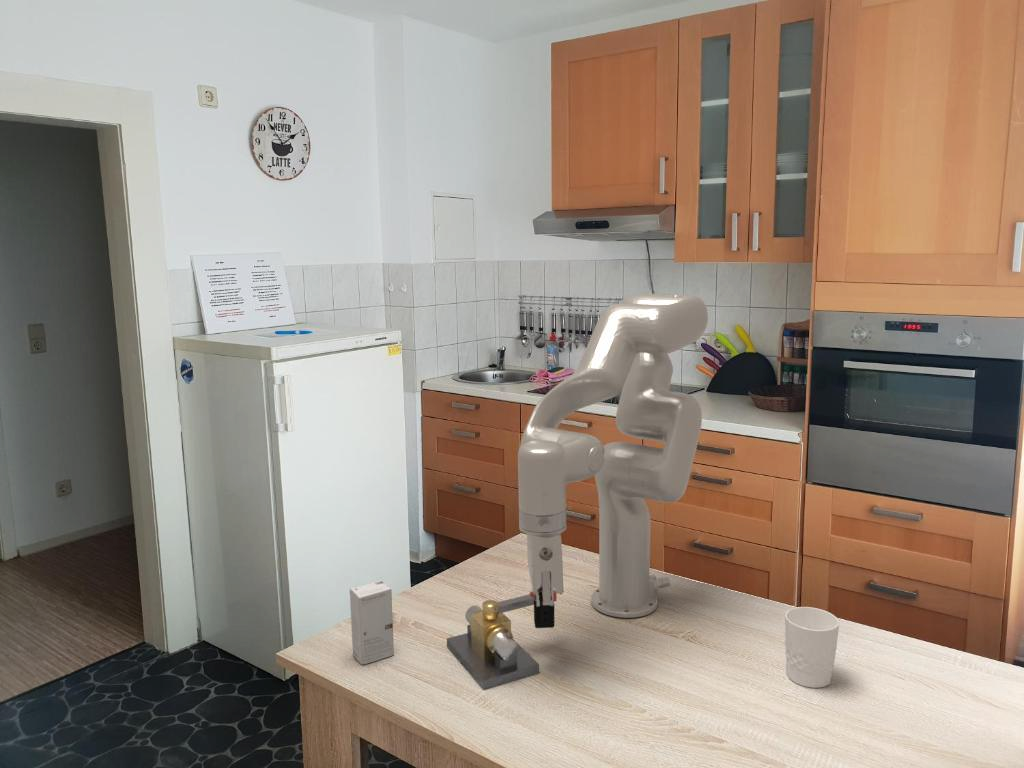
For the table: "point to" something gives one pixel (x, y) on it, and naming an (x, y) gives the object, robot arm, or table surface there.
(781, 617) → the table surface
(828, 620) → the white cup
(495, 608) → the valve lever
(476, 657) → the valve manifold
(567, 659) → the table surface
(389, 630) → the skincare box
